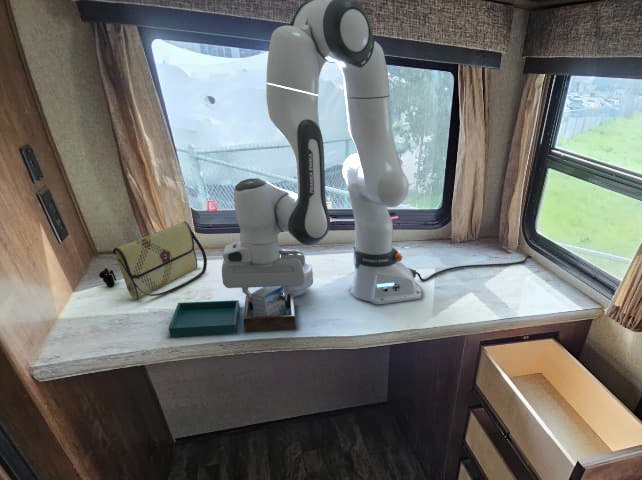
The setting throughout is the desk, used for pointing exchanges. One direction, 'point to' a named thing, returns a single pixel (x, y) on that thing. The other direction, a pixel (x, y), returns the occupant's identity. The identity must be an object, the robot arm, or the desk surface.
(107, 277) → the wireless earbuds
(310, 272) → the paper bowls
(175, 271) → the clutch purse
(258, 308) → the medicine box
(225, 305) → the tray
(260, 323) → the wooden floating shelf
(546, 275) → the desk surface
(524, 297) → the desk surface
